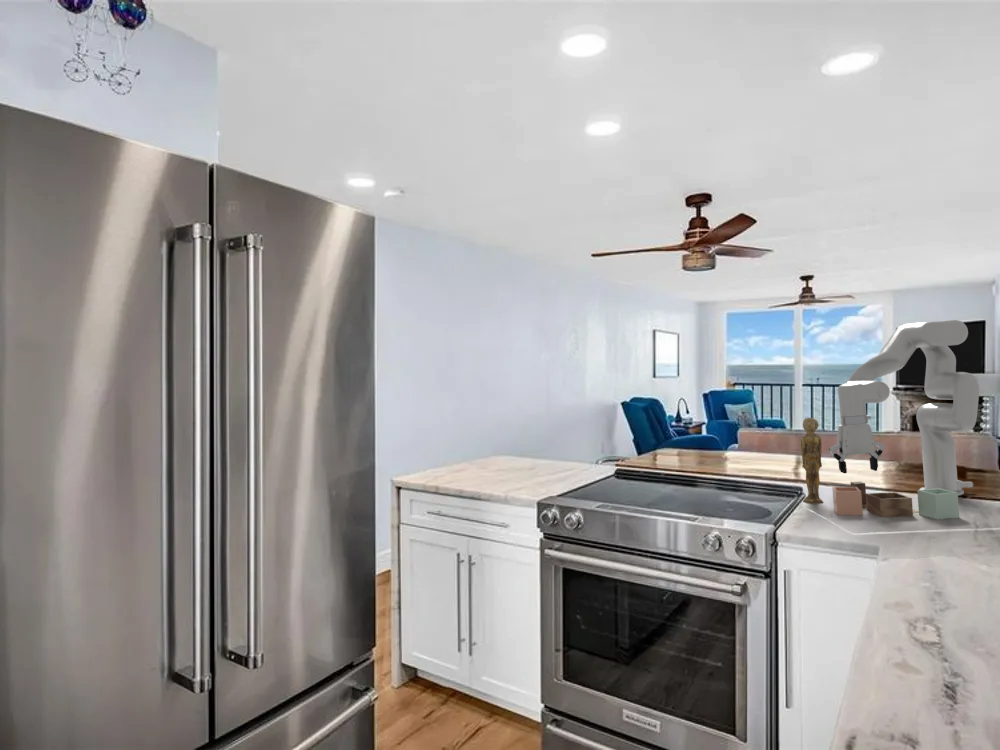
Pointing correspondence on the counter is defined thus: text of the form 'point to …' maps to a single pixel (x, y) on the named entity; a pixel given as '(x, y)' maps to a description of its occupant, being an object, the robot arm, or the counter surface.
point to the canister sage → (938, 503)
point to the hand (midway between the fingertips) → (858, 471)
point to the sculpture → (811, 459)
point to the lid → (863, 491)
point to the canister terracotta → (847, 501)
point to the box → (889, 504)
